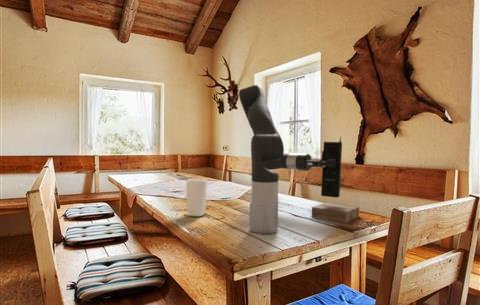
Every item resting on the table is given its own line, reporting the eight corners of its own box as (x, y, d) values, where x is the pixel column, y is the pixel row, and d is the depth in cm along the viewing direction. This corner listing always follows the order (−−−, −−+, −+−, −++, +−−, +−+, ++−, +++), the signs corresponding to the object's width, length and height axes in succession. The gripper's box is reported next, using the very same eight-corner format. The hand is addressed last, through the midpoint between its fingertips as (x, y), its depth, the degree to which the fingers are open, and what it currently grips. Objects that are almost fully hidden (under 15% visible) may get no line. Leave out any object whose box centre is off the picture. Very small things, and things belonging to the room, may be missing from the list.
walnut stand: (345, 223, 113) (345, 212, 113) (311, 216, 123) (311, 207, 122) (358, 216, 124) (359, 206, 123) (327, 211, 133) (327, 202, 133)
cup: (202, 218, 119) (202, 181, 119) (185, 217, 121) (185, 180, 120) (207, 213, 126) (207, 179, 126) (191, 213, 128) (191, 178, 127)
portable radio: (318, 195, 124) (321, 135, 124) (321, 194, 129) (323, 136, 129) (337, 197, 121) (340, 136, 120) (340, 196, 126) (342, 137, 126)
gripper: (290, 153, 128) (329, 155, 117) (306, 153, 138) (343, 154, 127) (290, 171, 128) (328, 174, 117) (306, 169, 139) (342, 172, 127)
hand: (336, 164), depth 122 cm, fingers closed on portable radio
